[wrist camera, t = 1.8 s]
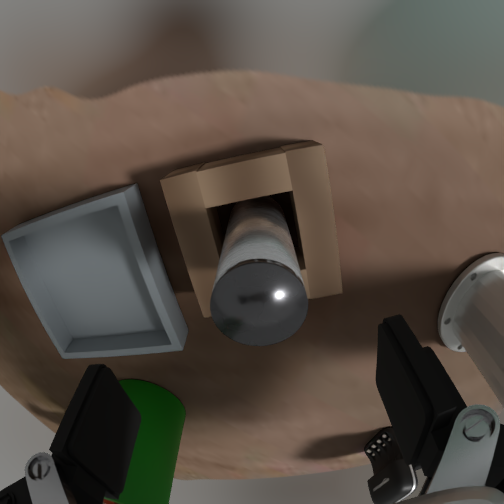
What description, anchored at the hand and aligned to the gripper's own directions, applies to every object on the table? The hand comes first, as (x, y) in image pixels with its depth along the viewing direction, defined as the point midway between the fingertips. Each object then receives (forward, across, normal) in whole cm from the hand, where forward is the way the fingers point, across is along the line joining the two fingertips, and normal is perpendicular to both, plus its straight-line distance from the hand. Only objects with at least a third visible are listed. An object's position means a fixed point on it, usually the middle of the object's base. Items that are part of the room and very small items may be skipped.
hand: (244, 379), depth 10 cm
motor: (+17, +17, +20) cm, 32 cm away
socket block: (+17, -1, 0) cm, 17 cm away
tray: (+17, +15, +2) cm, 23 cm away
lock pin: (+17, -1, 0) cm, 17 cm away
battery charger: (+16, -12, +36) cm, 42 cm away
